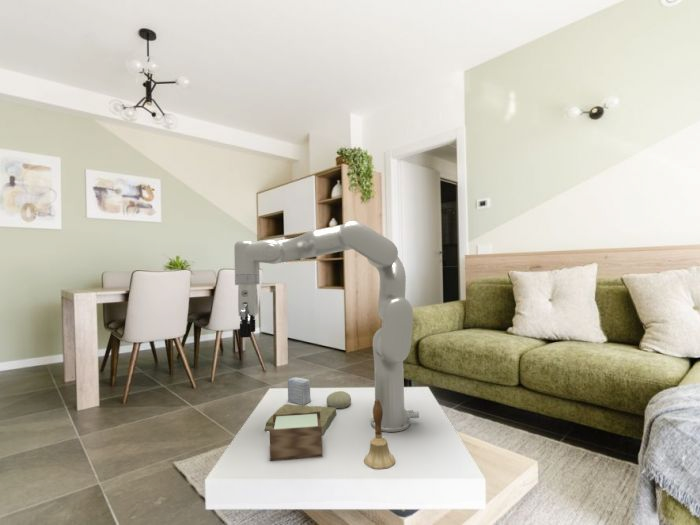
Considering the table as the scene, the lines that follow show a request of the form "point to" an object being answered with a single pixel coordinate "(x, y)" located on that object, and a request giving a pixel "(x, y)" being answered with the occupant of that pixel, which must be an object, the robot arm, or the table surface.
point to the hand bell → (379, 444)
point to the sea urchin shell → (338, 399)
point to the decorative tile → (325, 412)
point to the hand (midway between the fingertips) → (248, 334)
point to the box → (296, 440)
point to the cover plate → (296, 421)
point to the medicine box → (299, 390)
